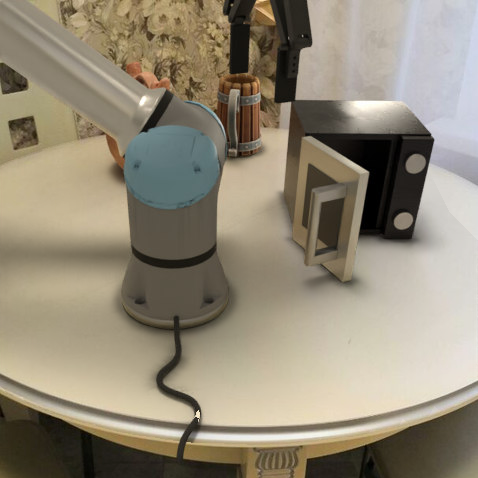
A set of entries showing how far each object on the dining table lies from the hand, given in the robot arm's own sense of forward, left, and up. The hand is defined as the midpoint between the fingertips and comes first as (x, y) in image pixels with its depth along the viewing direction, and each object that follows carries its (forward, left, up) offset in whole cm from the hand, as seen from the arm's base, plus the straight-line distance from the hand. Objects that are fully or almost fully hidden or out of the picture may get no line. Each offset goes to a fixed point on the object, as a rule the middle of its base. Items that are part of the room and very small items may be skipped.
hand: (260, 86), depth 84 cm
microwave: (+13, -18, -27) cm, 35 cm away
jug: (+33, +17, -27) cm, 46 cm away
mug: (+42, 0, -27) cm, 50 cm away
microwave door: (-3, -9, -27) cm, 28 cm away
